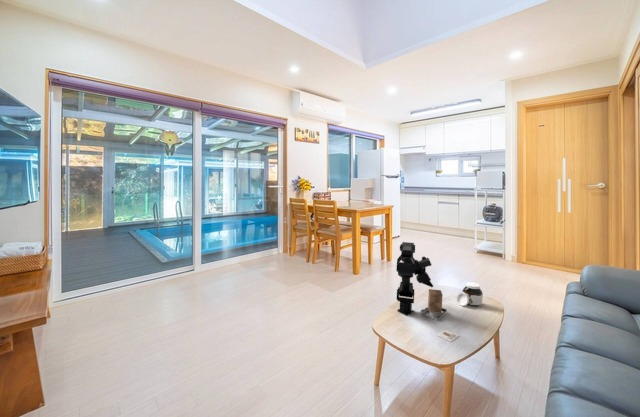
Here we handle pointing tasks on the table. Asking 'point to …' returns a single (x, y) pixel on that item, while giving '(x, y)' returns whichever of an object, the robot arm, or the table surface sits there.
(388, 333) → the table surface
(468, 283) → the spread jar
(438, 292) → the walnut block
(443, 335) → the card
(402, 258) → the robot arm
